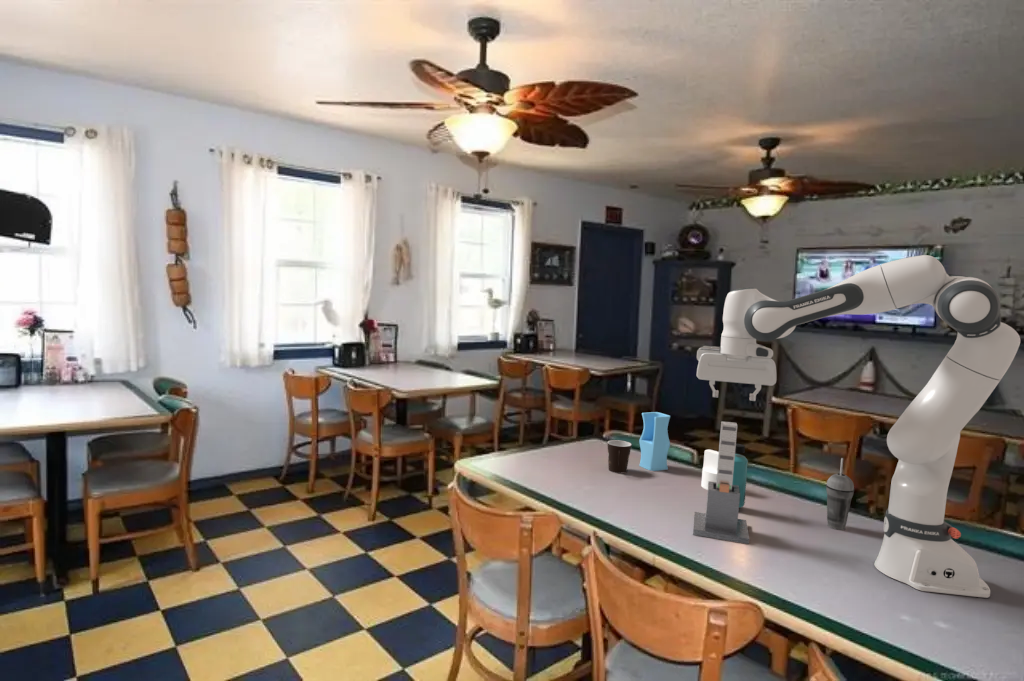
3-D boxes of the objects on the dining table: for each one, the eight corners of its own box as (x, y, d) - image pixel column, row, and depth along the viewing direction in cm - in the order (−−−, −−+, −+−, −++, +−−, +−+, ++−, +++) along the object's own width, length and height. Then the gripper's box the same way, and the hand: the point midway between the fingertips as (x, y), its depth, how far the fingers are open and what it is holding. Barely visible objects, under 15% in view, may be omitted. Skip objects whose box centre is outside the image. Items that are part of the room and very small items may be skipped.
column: (729, 500, 165) (736, 423, 163) (730, 505, 161) (737, 426, 159) (714, 498, 166) (721, 421, 164) (714, 503, 162) (721, 424, 160)
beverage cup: (823, 528, 169) (830, 460, 167) (820, 520, 176) (826, 454, 174) (852, 533, 166) (860, 464, 165) (847, 524, 173) (854, 457, 172)
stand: (745, 525, 168) (749, 477, 167) (748, 544, 155) (753, 493, 154) (694, 516, 173) (698, 470, 172) (693, 534, 160) (697, 484, 158)
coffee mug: (612, 465, 221) (613, 439, 220) (633, 470, 216) (635, 443, 215) (597, 472, 211) (599, 444, 211) (619, 477, 206) (621, 449, 206)
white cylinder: (695, 485, 202) (698, 451, 201) (711, 481, 208) (714, 448, 207) (718, 493, 195) (721, 458, 194) (734, 489, 200) (737, 454, 199)
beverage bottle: (746, 513, 178) (752, 448, 176) (722, 510, 179) (728, 446, 177) (742, 506, 184) (747, 443, 183) (719, 503, 186) (725, 440, 184)
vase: (637, 465, 223) (641, 412, 221) (653, 463, 227) (657, 411, 225) (651, 471, 216) (655, 417, 214) (668, 469, 220) (672, 416, 218)
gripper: (697, 345, 160) (693, 396, 161) (779, 351, 153) (775, 404, 154) (697, 344, 166) (693, 393, 167) (777, 350, 159) (772, 400, 160)
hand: (733, 398), depth 161 cm, fingers open, 8 cm apart
